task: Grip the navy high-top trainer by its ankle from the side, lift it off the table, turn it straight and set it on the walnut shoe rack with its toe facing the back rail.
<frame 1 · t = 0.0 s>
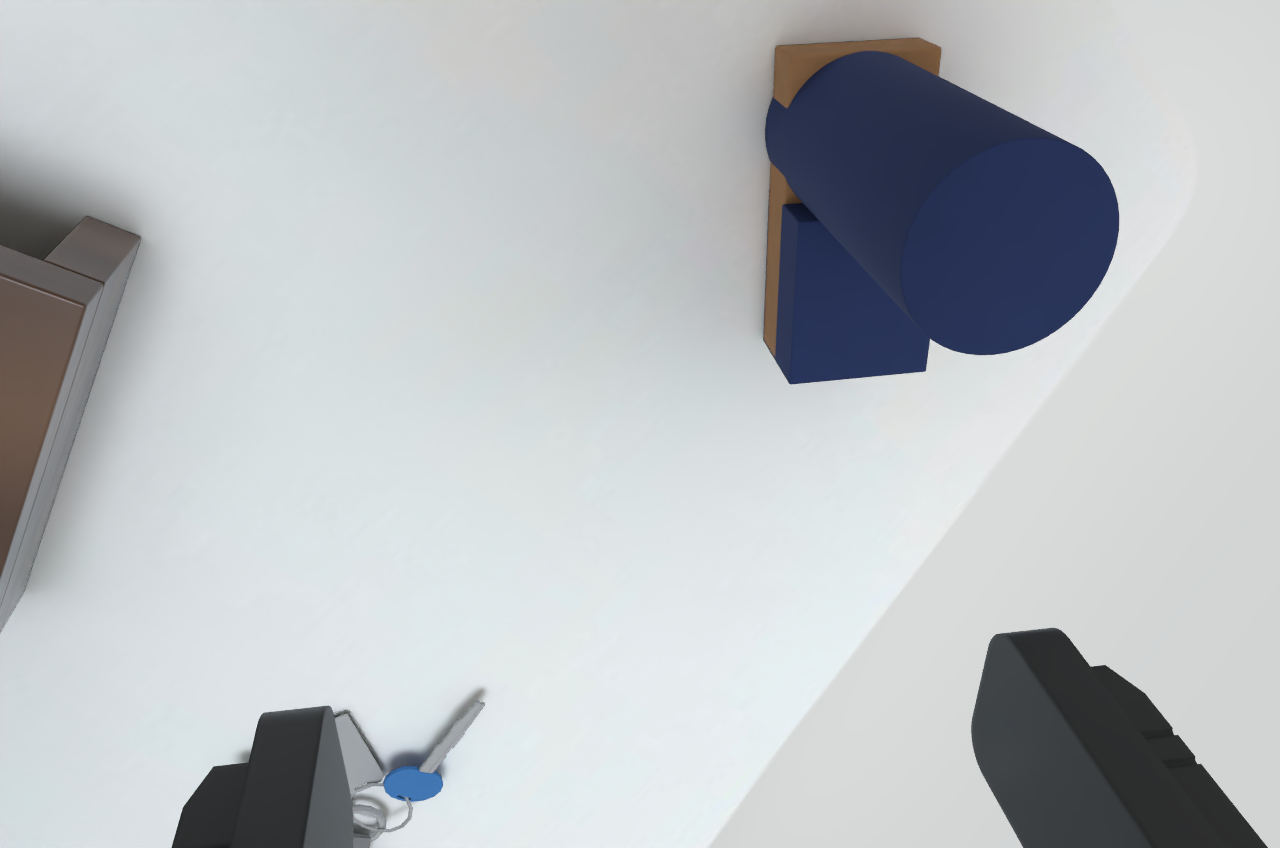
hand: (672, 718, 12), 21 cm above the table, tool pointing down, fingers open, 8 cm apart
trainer: (842, 124, 31), on the table
key chain: (333, 792, 41), on the table, touching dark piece
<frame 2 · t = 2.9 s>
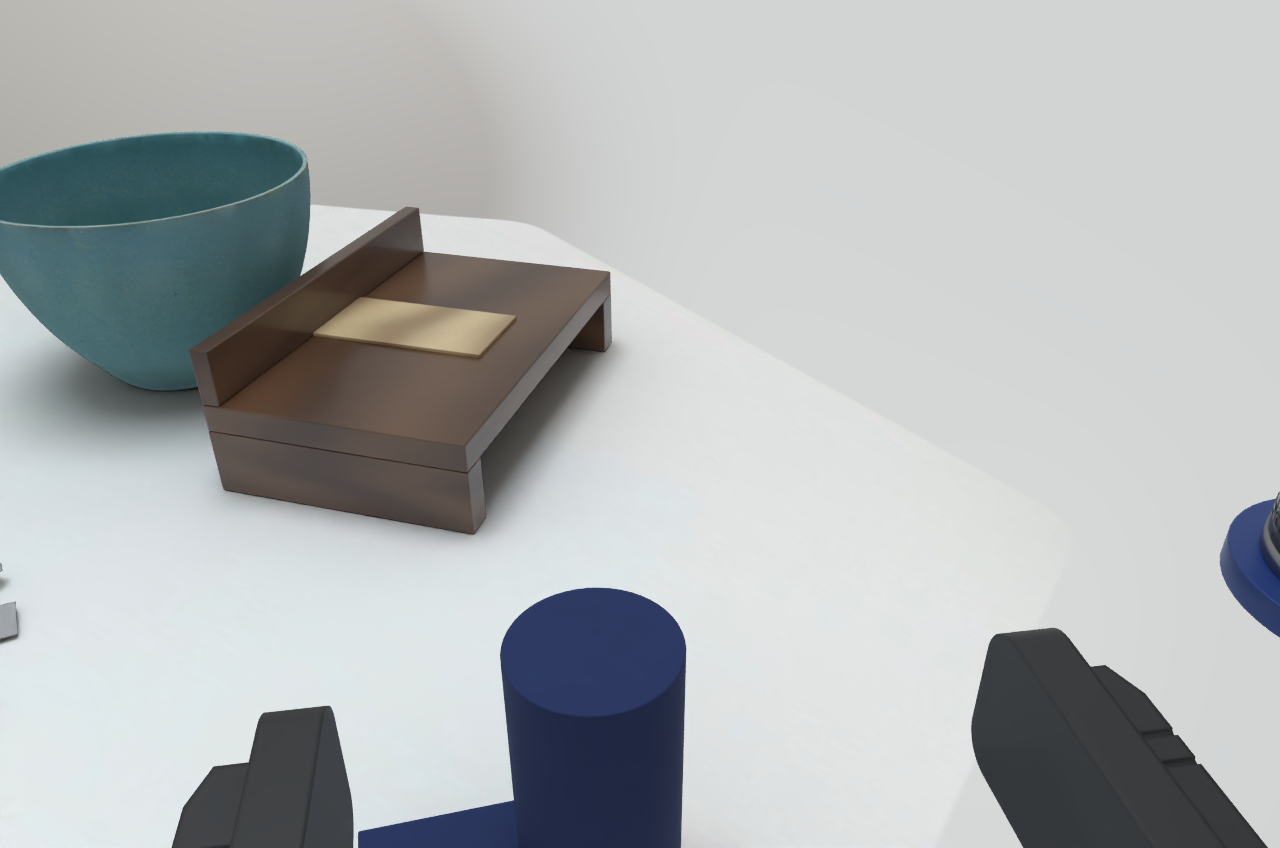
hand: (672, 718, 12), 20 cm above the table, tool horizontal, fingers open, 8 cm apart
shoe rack: (441, 406, 60), on the table
teal bowl: (191, 364, 65), on the table
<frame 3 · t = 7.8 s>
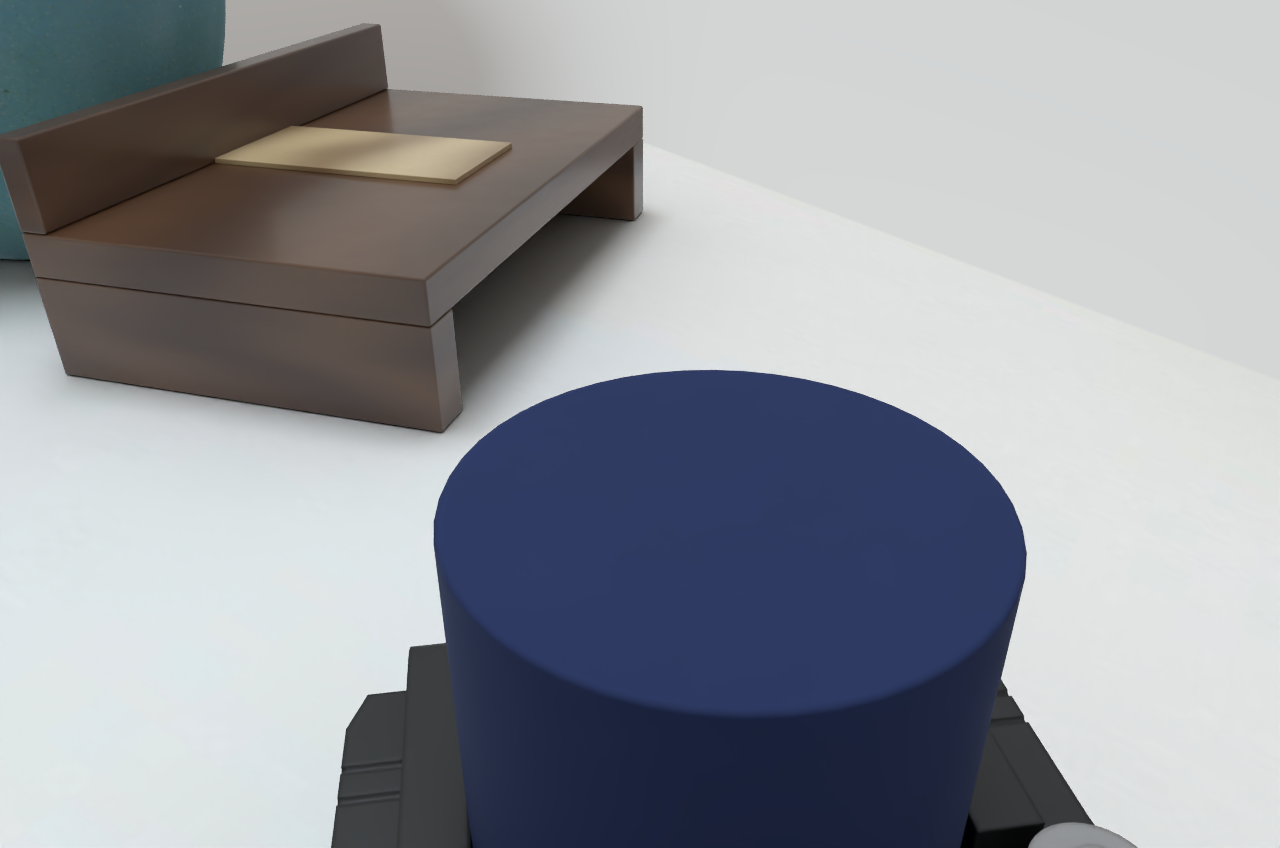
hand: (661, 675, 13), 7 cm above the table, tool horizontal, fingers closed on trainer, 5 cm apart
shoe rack: (405, 278, 42), on the table
teal bowl: (65, 233, 47), on the table
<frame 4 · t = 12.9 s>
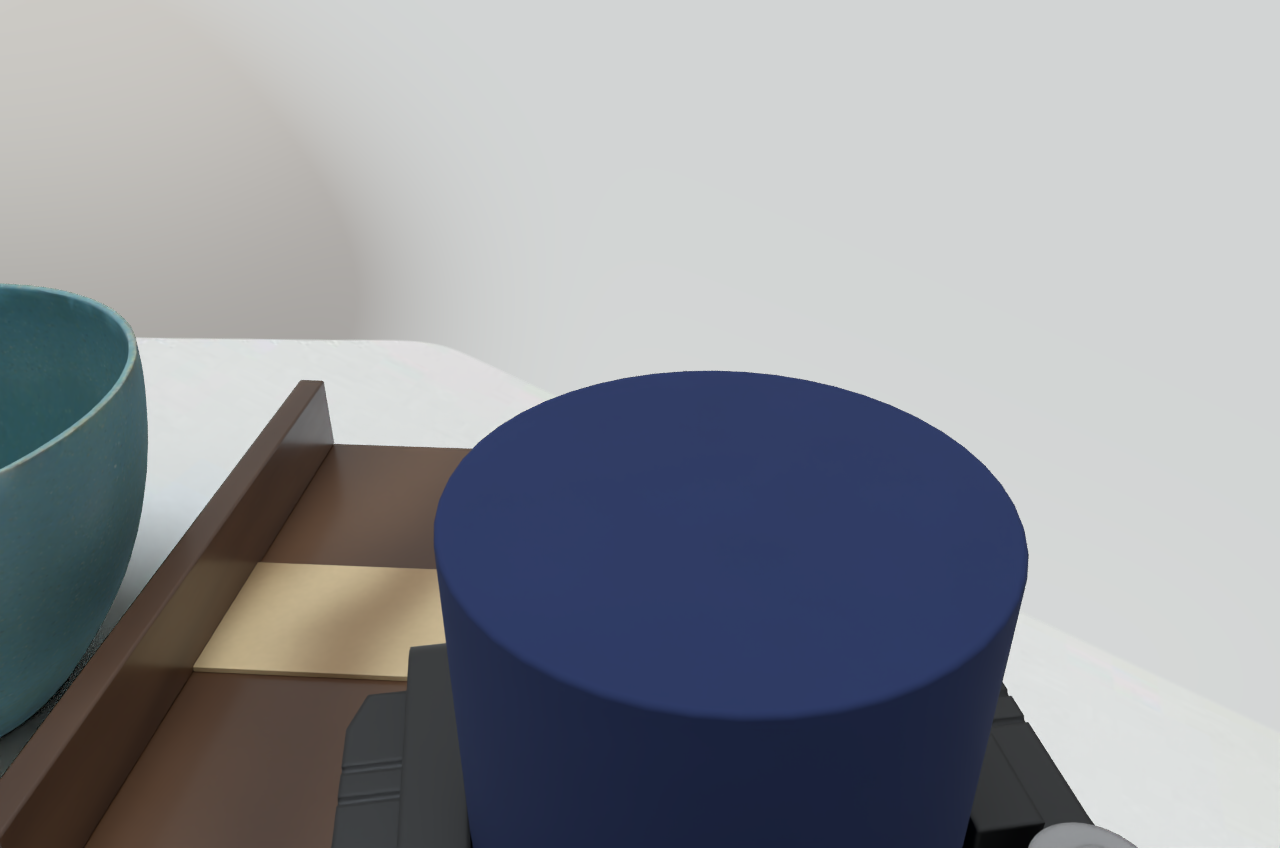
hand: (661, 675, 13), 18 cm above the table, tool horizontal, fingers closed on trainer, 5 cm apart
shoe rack: (424, 733, 36), on the table
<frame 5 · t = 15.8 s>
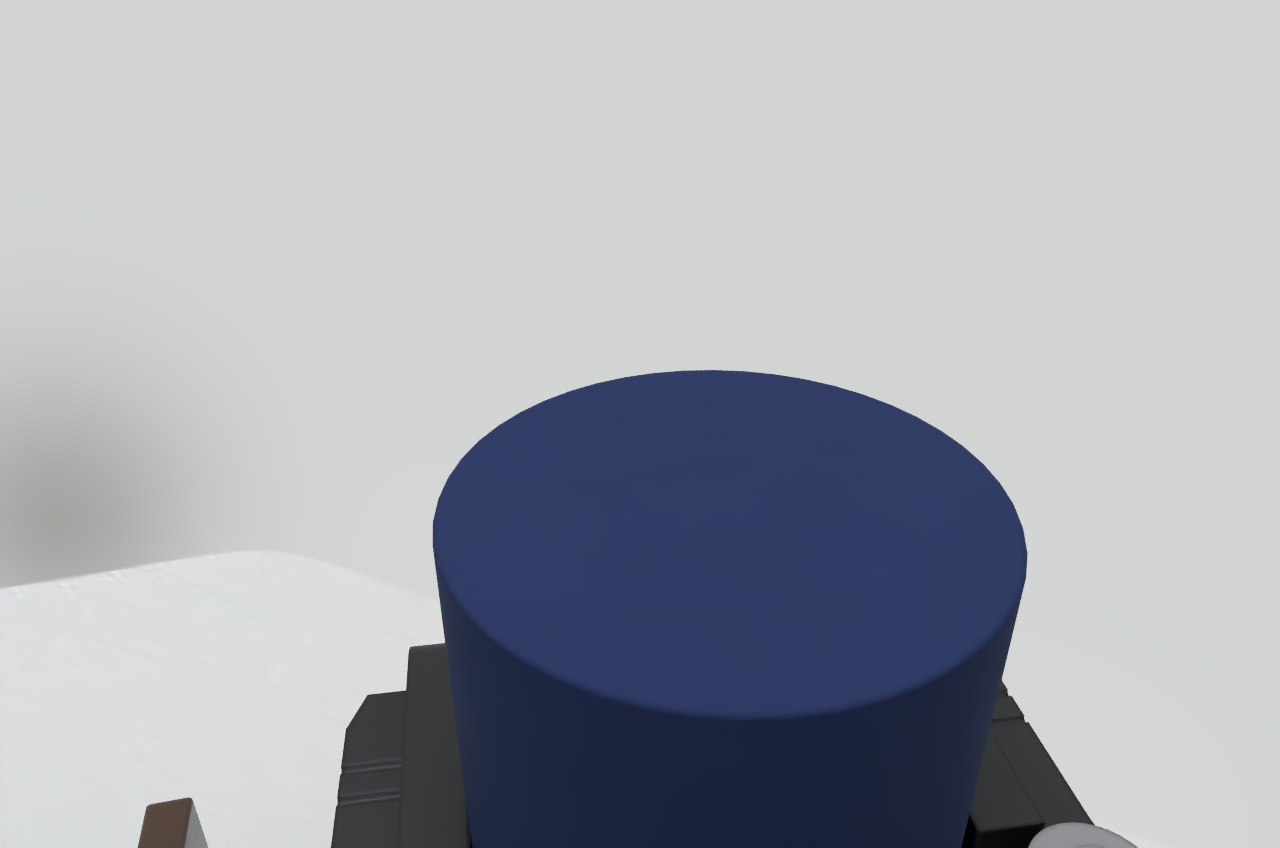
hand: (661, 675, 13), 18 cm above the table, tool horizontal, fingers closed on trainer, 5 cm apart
when the fingers open (12 cm above the table, at t = 18.0 s): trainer stays where it is, resting on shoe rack.
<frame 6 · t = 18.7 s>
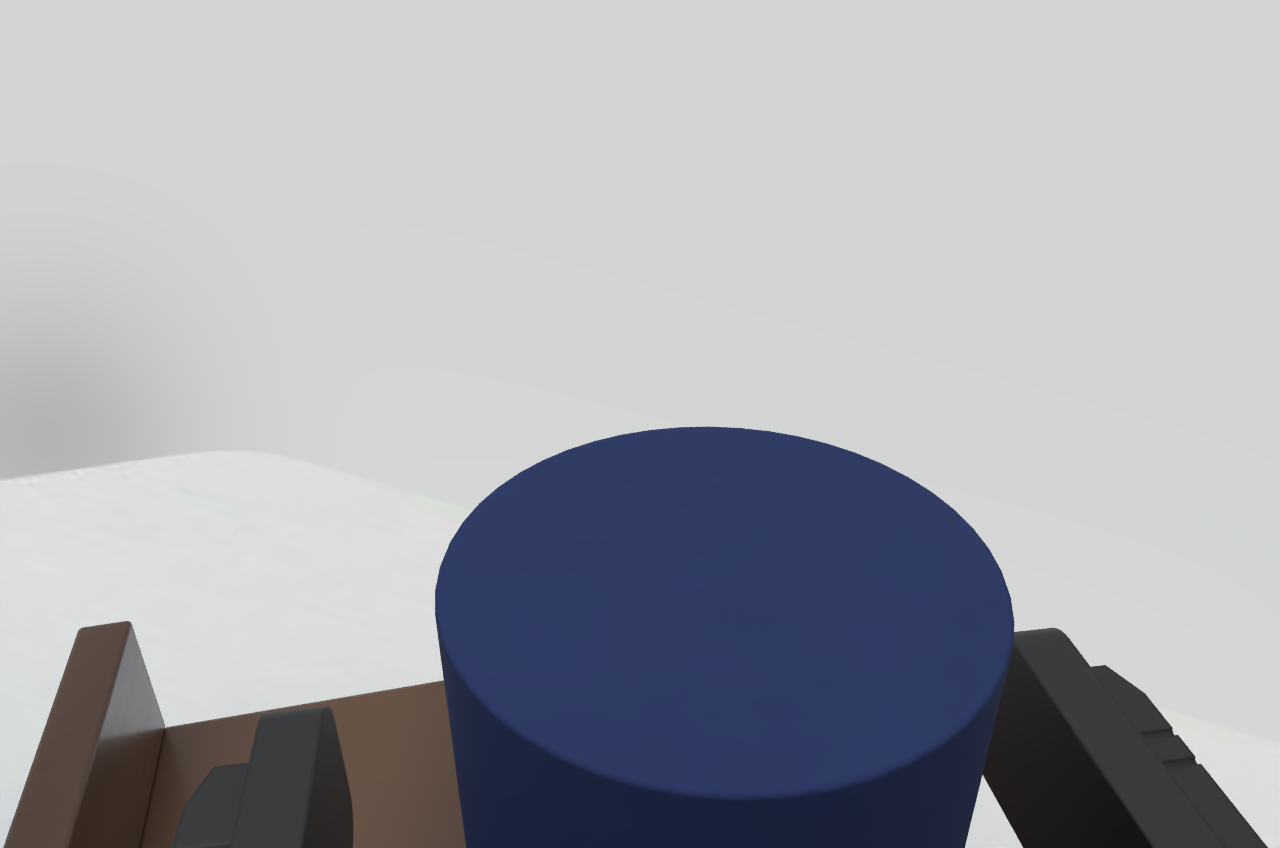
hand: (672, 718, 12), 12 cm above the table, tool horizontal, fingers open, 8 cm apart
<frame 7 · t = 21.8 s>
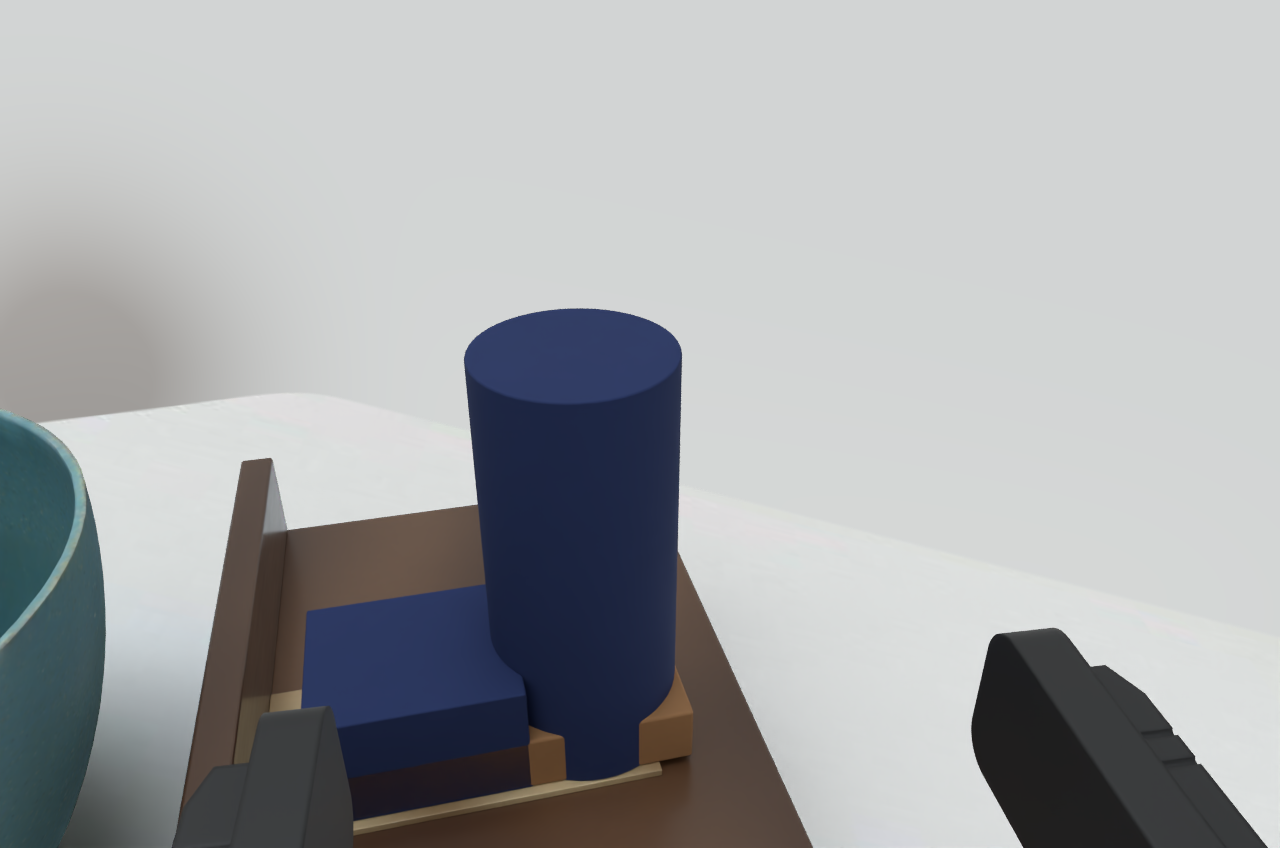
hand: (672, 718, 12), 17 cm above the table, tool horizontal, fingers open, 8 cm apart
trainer: (586, 711, 28), point 5 cm above the table, touching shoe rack
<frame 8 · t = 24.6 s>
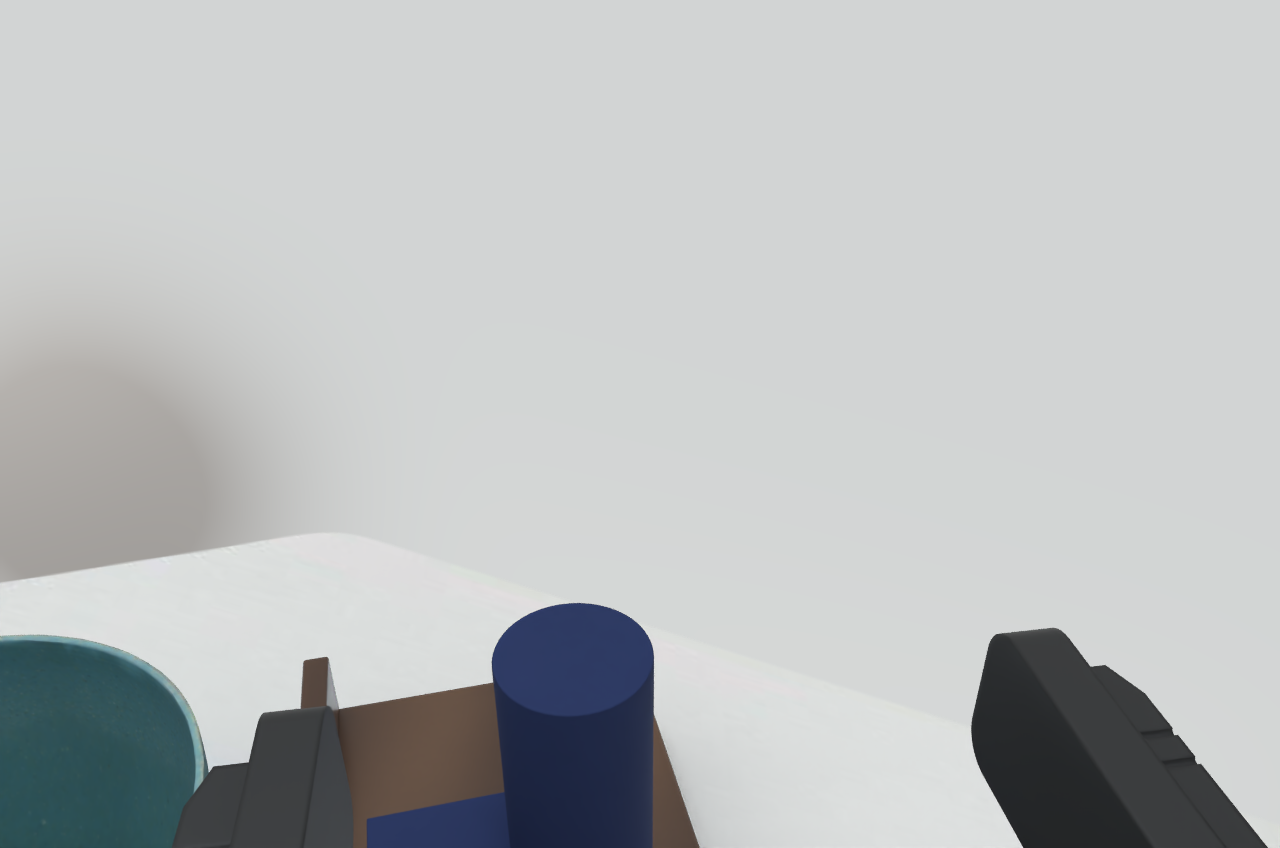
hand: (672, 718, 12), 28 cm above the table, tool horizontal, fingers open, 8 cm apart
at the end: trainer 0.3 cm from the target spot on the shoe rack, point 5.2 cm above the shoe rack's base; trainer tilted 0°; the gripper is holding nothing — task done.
